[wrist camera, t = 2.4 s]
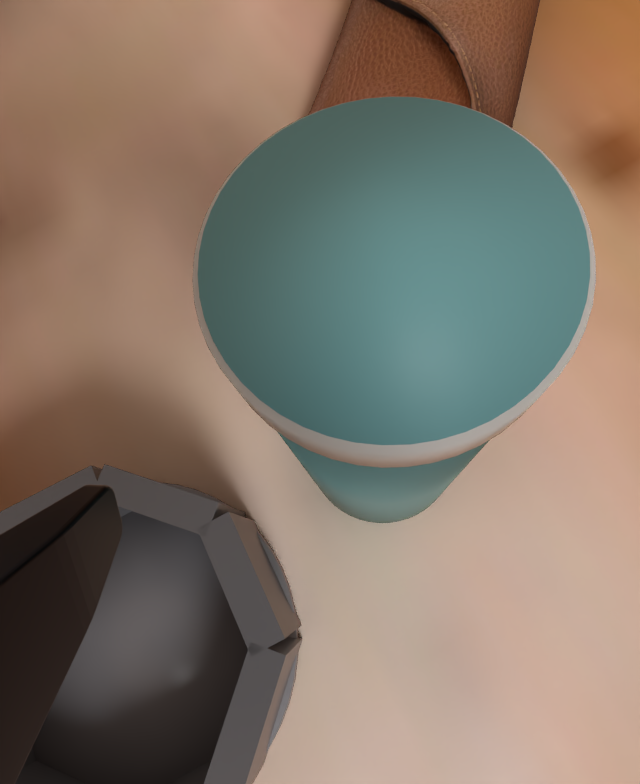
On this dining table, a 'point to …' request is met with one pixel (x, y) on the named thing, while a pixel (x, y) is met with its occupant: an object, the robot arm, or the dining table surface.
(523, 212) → the teal peg
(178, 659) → the socket ring
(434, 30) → the sunglasses case
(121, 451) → the dining table surface
